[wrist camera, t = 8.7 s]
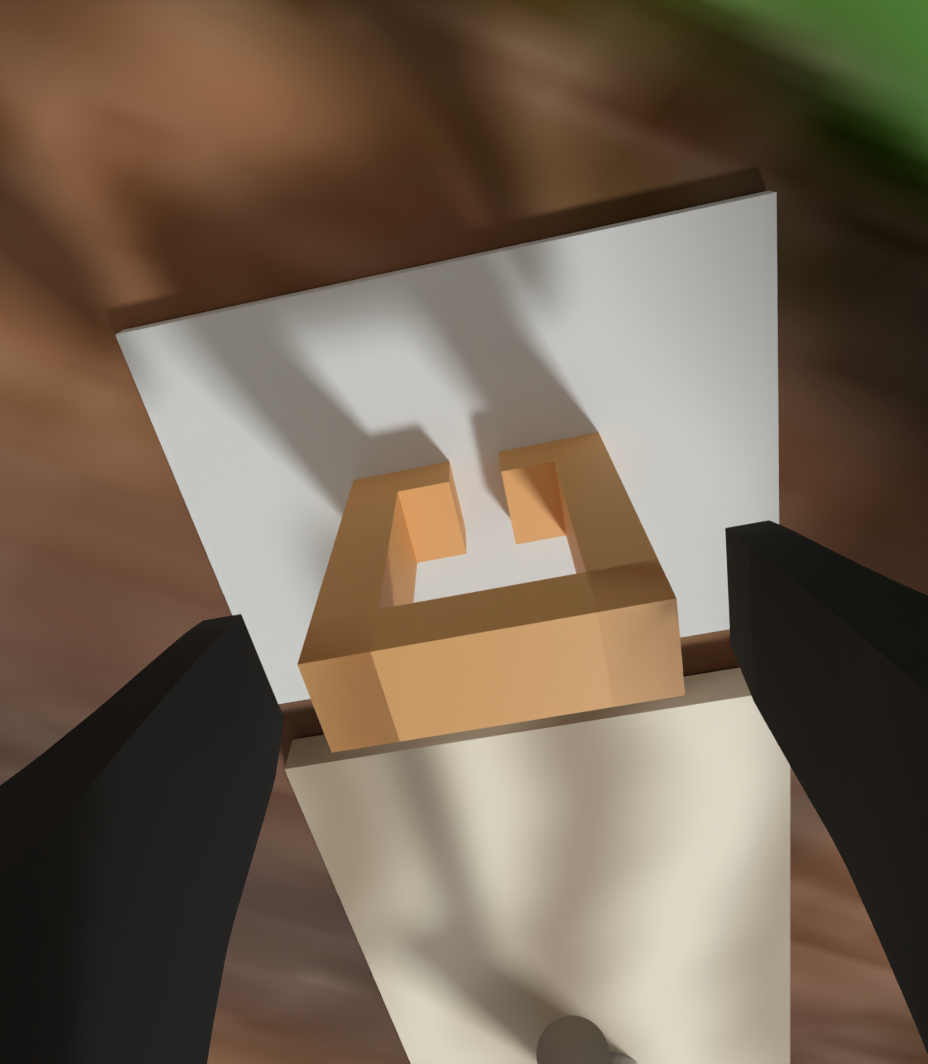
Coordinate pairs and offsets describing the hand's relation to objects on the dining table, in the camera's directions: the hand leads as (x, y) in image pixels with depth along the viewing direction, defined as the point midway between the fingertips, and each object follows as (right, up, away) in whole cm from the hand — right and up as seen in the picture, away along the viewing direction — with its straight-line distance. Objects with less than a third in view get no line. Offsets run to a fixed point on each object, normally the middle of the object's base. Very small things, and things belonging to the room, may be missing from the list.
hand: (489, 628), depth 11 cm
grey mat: (0, +2, +5) cm, 5 cm away
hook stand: (+3, -11, +11) cm, 16 cm away
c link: (0, +2, +4) cm, 5 cm away
